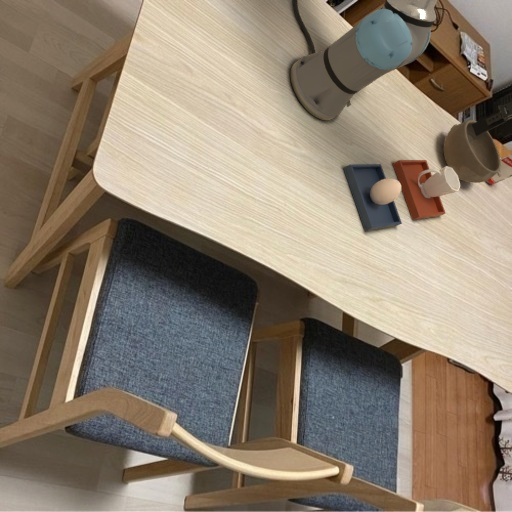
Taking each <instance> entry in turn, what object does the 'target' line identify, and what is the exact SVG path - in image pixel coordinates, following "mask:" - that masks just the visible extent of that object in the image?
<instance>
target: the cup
mask: <svg viewBox="0 0 512 512" xmlns="http://www.w3.org/2000/svg"><path fill="white" fill-rule="evenodd" d="M429 172H431V173H434V174H432V176H431V177H430V178H429V179H427V180H426V181H425V183H422V184H421V185H420V182H419V179H420V176H422V175H423V174H425V173H429ZM460 182H461V181H460V179H459V178H458V175H457V174H456V173H455V171H454V170H453V169H452V168H451V167H448V165H445V166H444V167H442V168H441V169H440V170H439V169H437V168H429V169H428V170H425V171H422V172H421V173H420V174H419V176H418V186H419V187H420V188H421V192H422V194H423V195H424V197H425V198H430V197H437V196H440V197H443V196H446V195H449V194H453V193H457V192H459V190H460V187H461V183H460Z"/></svg>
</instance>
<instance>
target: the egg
mask: <svg viewBox="0 0 512 512" xmlns="http://www.w3.org/2000/svg"><path fill="white" fill-rule="evenodd" d="M401 192H402V188H401V184H400V182H399V180H398V179H395V178H386V179H383V180H380V181H378V182H377V183H375V184H374V185H373V187H372V188H371V191H370V198H371V200H372V201H373V202H374V203H376V204H380V205H384V204H388V203H390V202H392V201H394V202H395V200H396V199H397V198H398V197H399V196H400V194H401Z"/></svg>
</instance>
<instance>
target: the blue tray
mask: <svg viewBox="0 0 512 512" xmlns="http://www.w3.org/2000/svg"><path fill="white" fill-rule="evenodd" d="M343 171H344V174H345V177H346V180H347V183H348V186H349V189H350V191H351V194H352V197H353V200H354V203H355V206H356V209H357V212H358V215H359V218H360V221H361V224H362V227H363V229H364V232H368V231H377V230H382V229H388V228H395V227H398V226H401V225H402V224H403V223H402V219H401V217H400V214H399V211H398V208H397V206H396V202H395V200H394V201H392V202H390V203H388V204H384V205H380V204H376V203H374V202H373V201H372V200H371V198H370V191H371V188H372V187H373V185H374V184H375V183H377V182H378V181H380V180H383V179H387V178H386V175H385V174H386V173H385V171H384V169H383V166H382V164H381V163H366V164H365V163H362V164H361V163H360V164H349V165H347V166H345V167H343Z"/></svg>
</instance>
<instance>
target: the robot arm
mask: <svg viewBox="0 0 512 512" xmlns="http://www.w3.org/2000/svg"><path fill="white" fill-rule="evenodd" d="M292 1H293V10H294V14H295V17H296V20H297V22H298V24H299V26H300V28H301V30H302V32H303V34H304V36H305V37H306V39H307V42H308V45H309V48H310V52H311V54H307V55H304V56H302V57H300V58H299V59H298V60H296V61H295V62H294V63H293V64H292V66H291V69H290V82H291V87H292V89H293V92H294V94H295V96H296V98H297V100H298V101H299V102H300V104H301V106H303V108H304V109H305V110H306V111H307V112H308V113H309V114H311V116H313V117H315V118H317V119H319V120H323V121H330V120H332V119H334V118H336V117H337V116H339V115H340V114H341V113H342V111H343V110H344V108H345V107H347V108H349V107H350V106H351V105H352V102H351V99H352V98H353V97H354V96H355V94H358V93H359V92H360V91H361V90H363V89H365V88H366V87H367V86H369V85H370V84H372V83H373V82H376V80H379V78H382V77H383V76H384V75H387V74H389V73H390V72H392V71H395V70H397V69H400V68H402V67H403V66H406V65H409V64H411V63H413V62H414V61H416V60H417V59H418V58H419V57H420V56H421V55H422V54H423V53H424V52H425V50H426V49H427V47H428V45H429V42H430V39H431V31H432V30H431V29H432V28H433V25H434V23H435V22H436V19H437V14H436V11H435V6H436V4H437V3H438V0H385V1H384V4H383V5H382V8H380V9H379V8H378V9H377V10H374V11H373V12H371V13H368V14H367V15H366V16H364V17H363V18H362V19H361V20H360V21H359V22H358V23H357V24H356V25H354V26H353V27H352V28H350V29H349V30H348V31H346V32H345V33H344V34H343V35H342V36H340V37H339V38H338V39H337V40H335V41H334V42H333V43H331V45H329V46H328V47H326V48H325V49H323V50H320V51H316V48H315V45H314V42H313V39H312V37H311V35H310V33H309V31H308V29H307V27H306V25H305V23H304V21H303V19H302V17H301V14H300V11H299V5H298V0H292ZM497 107H498V109H499V110H496V111H494V112H493V113H491V114H488V115H487V116H485V117H482V118H481V119H479V120H476V121H477V122H475V123H473V124H472V127H473V129H474V132H475V134H476V136H479V135H481V134H483V133H485V132H487V131H488V132H489V131H490V130H493V129H495V128H497V127H498V128H499V131H500V134H501V137H502V138H503V139H505V138H507V137H509V136H512V101H509V102H506V103H505V104H503V103H501V104H499V105H498V106H497ZM508 120H510V121H508ZM507 121H508V122H507Z"/></svg>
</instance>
